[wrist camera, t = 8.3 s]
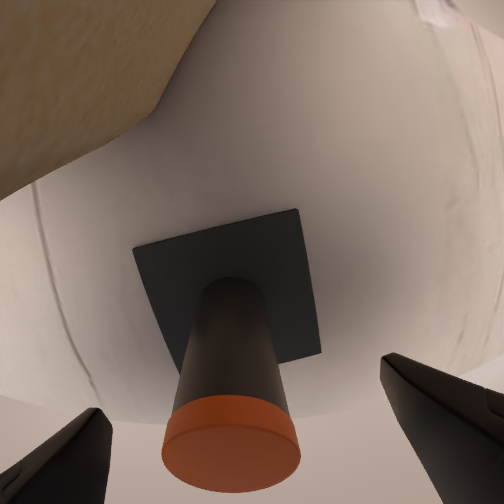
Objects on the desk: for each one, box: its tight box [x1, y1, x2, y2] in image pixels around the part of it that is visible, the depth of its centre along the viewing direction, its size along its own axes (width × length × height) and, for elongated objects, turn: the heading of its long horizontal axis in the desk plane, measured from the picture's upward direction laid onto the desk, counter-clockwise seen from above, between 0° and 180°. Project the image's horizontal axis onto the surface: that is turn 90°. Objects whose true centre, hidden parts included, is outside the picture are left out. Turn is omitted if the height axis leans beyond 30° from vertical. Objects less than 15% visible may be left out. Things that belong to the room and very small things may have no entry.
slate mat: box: [132, 208, 321, 374], centre depth 14 cm, size 8×8×1 cm
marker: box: [162, 277, 301, 493], centre depth 10 cm, size 3×3×9 cm
